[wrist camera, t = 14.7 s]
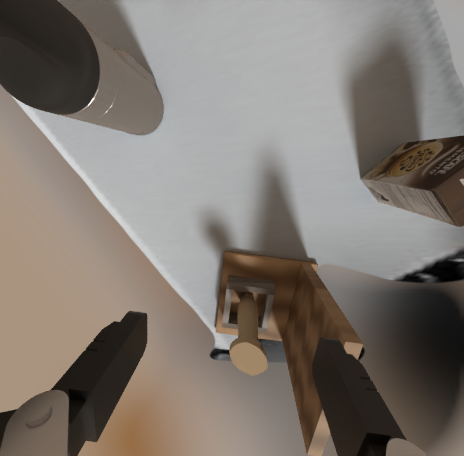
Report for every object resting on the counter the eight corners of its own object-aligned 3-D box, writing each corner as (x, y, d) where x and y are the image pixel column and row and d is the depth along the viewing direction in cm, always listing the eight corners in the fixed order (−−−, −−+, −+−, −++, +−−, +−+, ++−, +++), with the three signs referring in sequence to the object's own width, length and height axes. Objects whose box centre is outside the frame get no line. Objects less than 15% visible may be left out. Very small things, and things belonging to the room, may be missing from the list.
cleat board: (225, 251, 45) (209, 323, 24) (316, 262, 44) (376, 345, 24) (216, 329, 50) (197, 438, 30) (296, 339, 50) (332, 458, 30)
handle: (246, 314, 48) (247, 379, 33) (229, 293, 46) (223, 351, 32) (264, 304, 47) (274, 366, 32) (248, 282, 45) (250, 337, 31)
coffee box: (404, 140, 37) (519, 124, 21) (424, 169, 38) (547, 173, 23) (358, 178, 39) (433, 188, 24) (378, 203, 40) (462, 229, 25)
